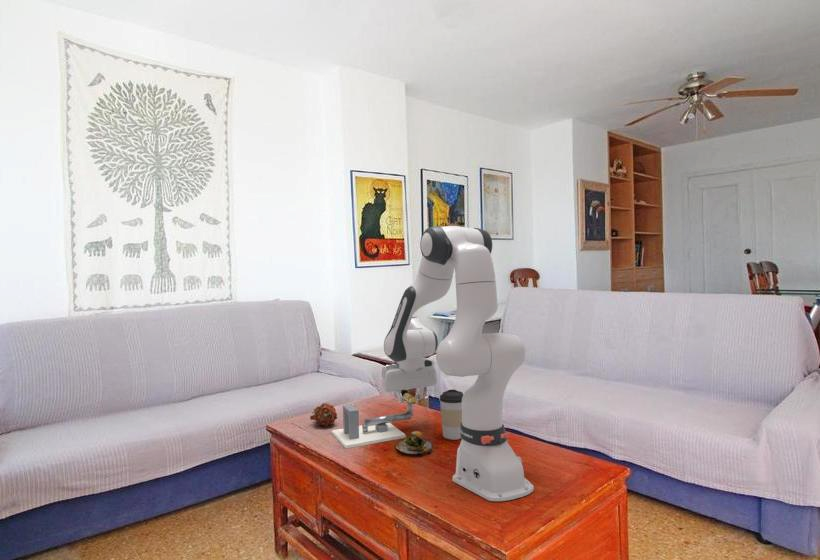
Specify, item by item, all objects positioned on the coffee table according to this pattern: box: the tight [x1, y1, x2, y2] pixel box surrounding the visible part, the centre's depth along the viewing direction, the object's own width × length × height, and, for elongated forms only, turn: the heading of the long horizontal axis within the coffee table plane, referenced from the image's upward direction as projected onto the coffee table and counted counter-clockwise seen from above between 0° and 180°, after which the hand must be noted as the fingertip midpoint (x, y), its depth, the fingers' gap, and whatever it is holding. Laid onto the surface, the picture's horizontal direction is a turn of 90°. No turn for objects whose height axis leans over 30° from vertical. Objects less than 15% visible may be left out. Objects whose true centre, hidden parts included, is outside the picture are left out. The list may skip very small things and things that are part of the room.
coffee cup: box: [438, 389, 464, 440], centre depth 166 cm, size 9×9×15 cm
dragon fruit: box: [309, 402, 338, 427], centre depth 180 cm, size 8×8×12 cm
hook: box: [361, 392, 418, 432], centre depth 171 cm, size 19×6×10 cm, turn 115°
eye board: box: [331, 403, 407, 450], centre depth 168 cm, size 21×16×10 cm
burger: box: [394, 425, 434, 457], centre depth 154 cm, size 12×12×8 cm
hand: (409, 401), depth 174 cm, fingers open, 5 cm apart
